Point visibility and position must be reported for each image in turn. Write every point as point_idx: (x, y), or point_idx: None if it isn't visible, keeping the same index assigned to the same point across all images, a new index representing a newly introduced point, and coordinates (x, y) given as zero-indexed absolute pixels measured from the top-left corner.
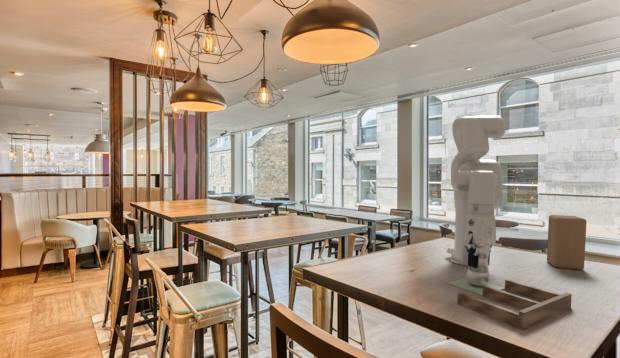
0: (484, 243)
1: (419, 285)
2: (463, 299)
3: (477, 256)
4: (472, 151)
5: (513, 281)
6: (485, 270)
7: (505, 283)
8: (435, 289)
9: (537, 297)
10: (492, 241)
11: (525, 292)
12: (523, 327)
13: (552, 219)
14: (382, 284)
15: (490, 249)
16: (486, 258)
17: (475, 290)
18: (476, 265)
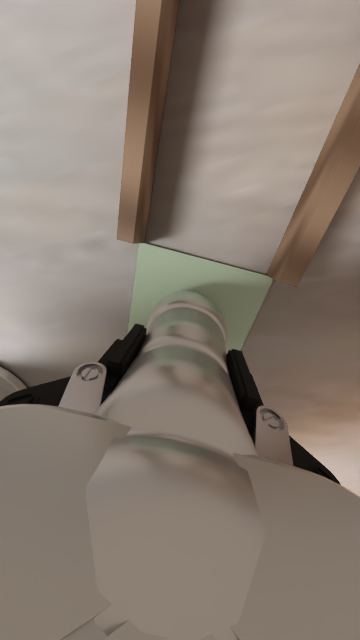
0: (286, 505)
1: (294, 419)
2: None
3: (256, 396)
4: None
5: (125, 206)
6: (203, 317)
7: (138, 241)
8: (302, 387)
9: (164, 85)
10: (54, 460)
11: (154, 148)
12: None
13: None
14: (341, 467)
15: (73, 379)
16: (194, 349)
17: (245, 309)
18: (242, 360)
